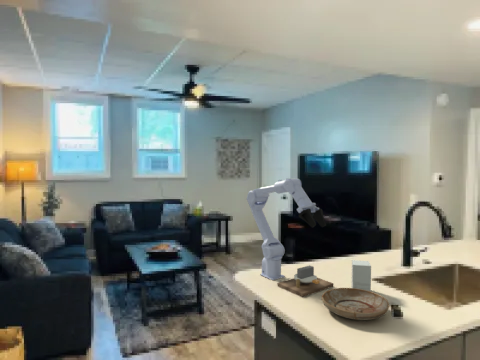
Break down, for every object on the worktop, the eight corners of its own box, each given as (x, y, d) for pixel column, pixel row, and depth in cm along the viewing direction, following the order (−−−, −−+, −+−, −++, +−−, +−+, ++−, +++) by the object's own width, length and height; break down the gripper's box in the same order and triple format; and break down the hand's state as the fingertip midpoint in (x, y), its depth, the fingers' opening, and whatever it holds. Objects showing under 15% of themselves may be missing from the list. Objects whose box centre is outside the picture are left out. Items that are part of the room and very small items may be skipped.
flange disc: (289, 277, 148) (289, 266, 148) (304, 273, 154) (305, 263, 154) (310, 285, 138) (310, 274, 138) (325, 281, 144) (325, 269, 144)
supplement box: (368, 289, 144) (369, 260, 143) (370, 295, 137) (371, 265, 136) (351, 287, 146) (351, 259, 145) (352, 293, 139) (352, 264, 138)
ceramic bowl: (336, 294, 139) (336, 282, 138) (396, 310, 124) (396, 297, 123) (311, 313, 121) (311, 300, 120) (377, 334, 106) (377, 319, 106)
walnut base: (277, 286, 147) (277, 275, 147) (308, 277, 159) (308, 267, 159) (302, 297, 135) (302, 285, 135) (333, 286, 147) (333, 276, 147)
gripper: (299, 193, 137) (316, 220, 130) (317, 195, 147) (335, 220, 140) (288, 204, 140) (304, 230, 133) (307, 205, 150) (323, 229, 143)
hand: (319, 226), depth 137 cm, fingers open, 7 cm apart
